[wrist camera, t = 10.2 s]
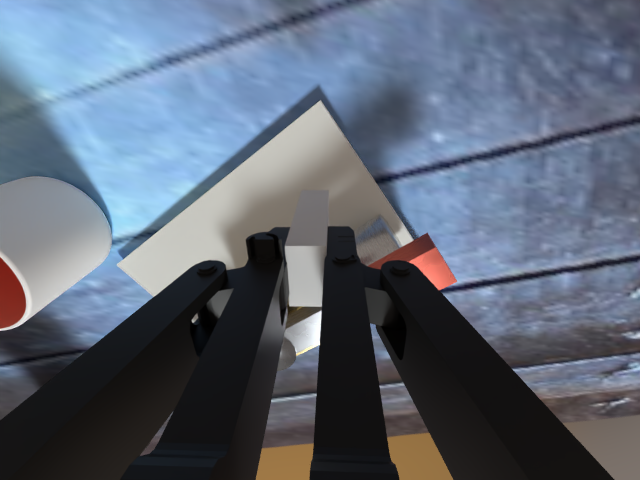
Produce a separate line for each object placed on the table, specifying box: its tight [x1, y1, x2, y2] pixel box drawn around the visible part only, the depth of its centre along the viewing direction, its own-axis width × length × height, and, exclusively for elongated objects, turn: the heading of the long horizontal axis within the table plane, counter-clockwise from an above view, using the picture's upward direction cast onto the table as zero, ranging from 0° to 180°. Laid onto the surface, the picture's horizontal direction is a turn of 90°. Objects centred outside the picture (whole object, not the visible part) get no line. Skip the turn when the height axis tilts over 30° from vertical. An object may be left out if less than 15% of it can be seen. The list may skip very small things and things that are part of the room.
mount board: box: [117, 100, 414, 323], centre depth 30 cm, size 26×17×1 cm, turn 126°
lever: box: [277, 233, 457, 371], centre depth 22 cm, size 16×4×2 cm, turn 126°
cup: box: [0, 176, 112, 331], centre depth 26 cm, size 10×10×10 cm
